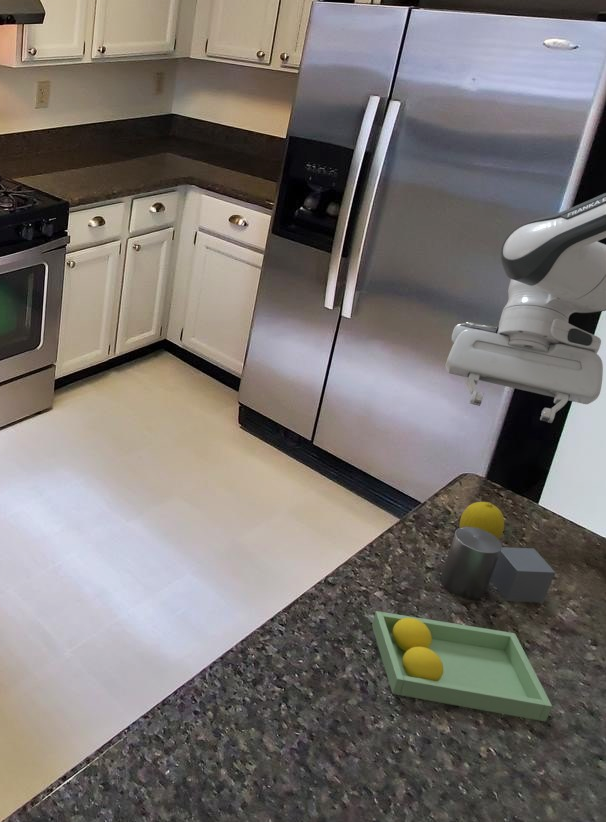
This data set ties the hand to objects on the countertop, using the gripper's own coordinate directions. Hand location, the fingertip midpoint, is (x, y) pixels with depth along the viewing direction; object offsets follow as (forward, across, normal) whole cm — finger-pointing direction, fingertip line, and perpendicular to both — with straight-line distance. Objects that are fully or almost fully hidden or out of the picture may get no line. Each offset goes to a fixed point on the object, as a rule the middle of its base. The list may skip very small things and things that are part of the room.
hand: (510, 412), depth 125 cm
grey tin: (+30, -1, -5) cm, 30 cm away
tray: (+43, -1, -17) cm, 46 cm away
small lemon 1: (+42, -6, -17) cm, 45 cm away
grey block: (+27, +6, -2) cm, 28 cm away
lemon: (+21, 0, +4) cm, 22 cm away
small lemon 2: (+45, -4, -21) cm, 50 cm away
